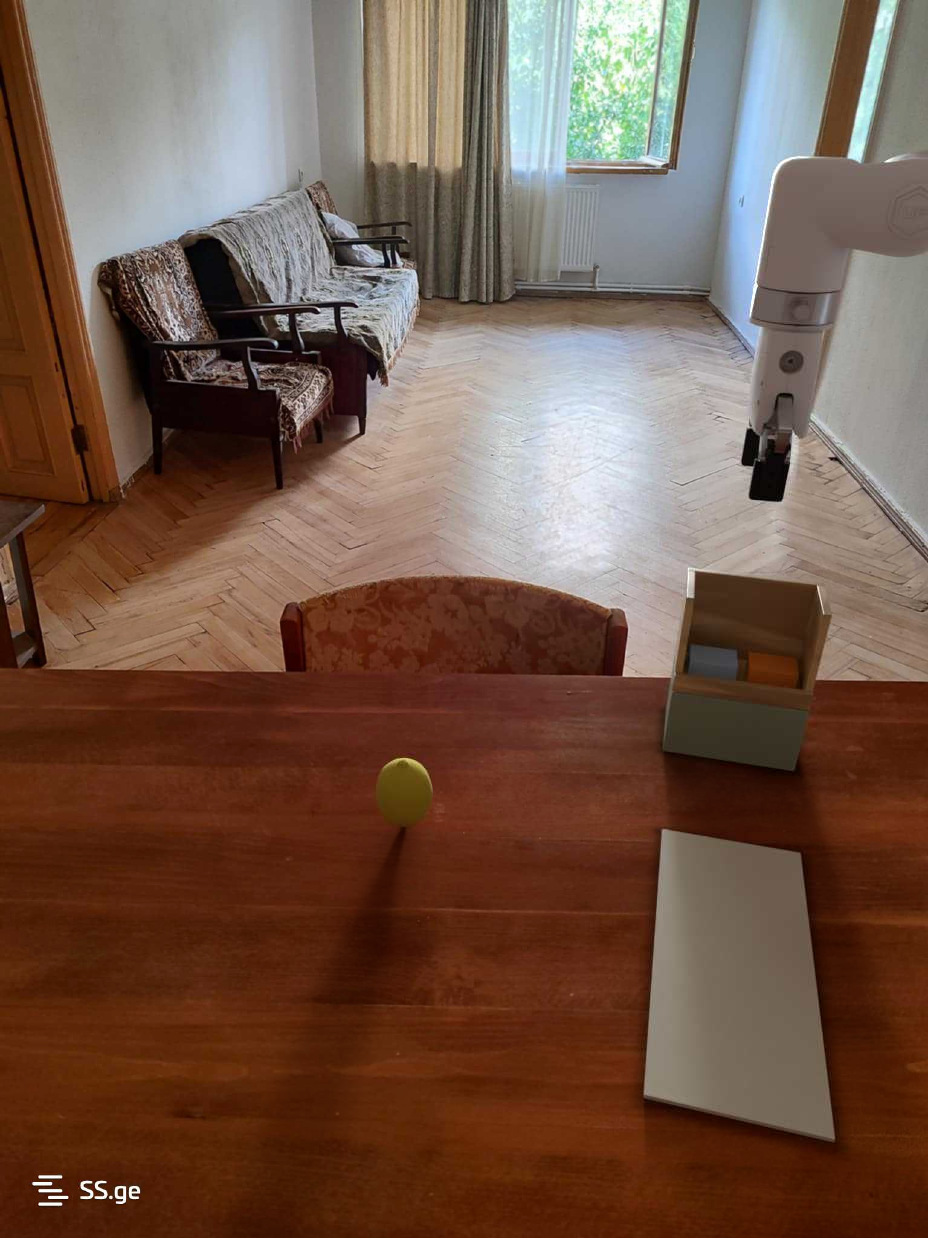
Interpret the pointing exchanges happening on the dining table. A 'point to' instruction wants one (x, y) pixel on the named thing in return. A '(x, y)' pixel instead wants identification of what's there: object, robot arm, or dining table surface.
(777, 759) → the grey open box
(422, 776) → the lemon
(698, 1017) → the mat
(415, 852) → the dining table surface
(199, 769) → the dining table surface
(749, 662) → the packet orange
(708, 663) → the packet blue
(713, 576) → the wooden open box
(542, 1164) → the dining table surface
